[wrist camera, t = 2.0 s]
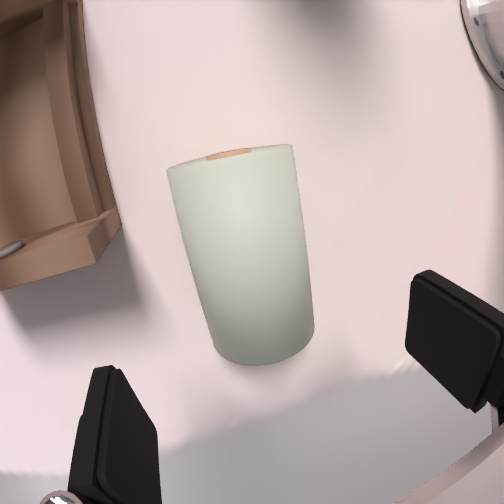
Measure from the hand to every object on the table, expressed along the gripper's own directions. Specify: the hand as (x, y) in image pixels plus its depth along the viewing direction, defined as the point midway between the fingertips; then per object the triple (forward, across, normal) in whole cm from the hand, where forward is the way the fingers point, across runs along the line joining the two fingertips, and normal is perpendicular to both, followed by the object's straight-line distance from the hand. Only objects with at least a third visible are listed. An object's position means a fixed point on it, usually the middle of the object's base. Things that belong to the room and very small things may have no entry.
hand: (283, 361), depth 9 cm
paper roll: (+8, -1, 0) cm, 8 cm away
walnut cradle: (+11, +11, -10) cm, 19 cm away
